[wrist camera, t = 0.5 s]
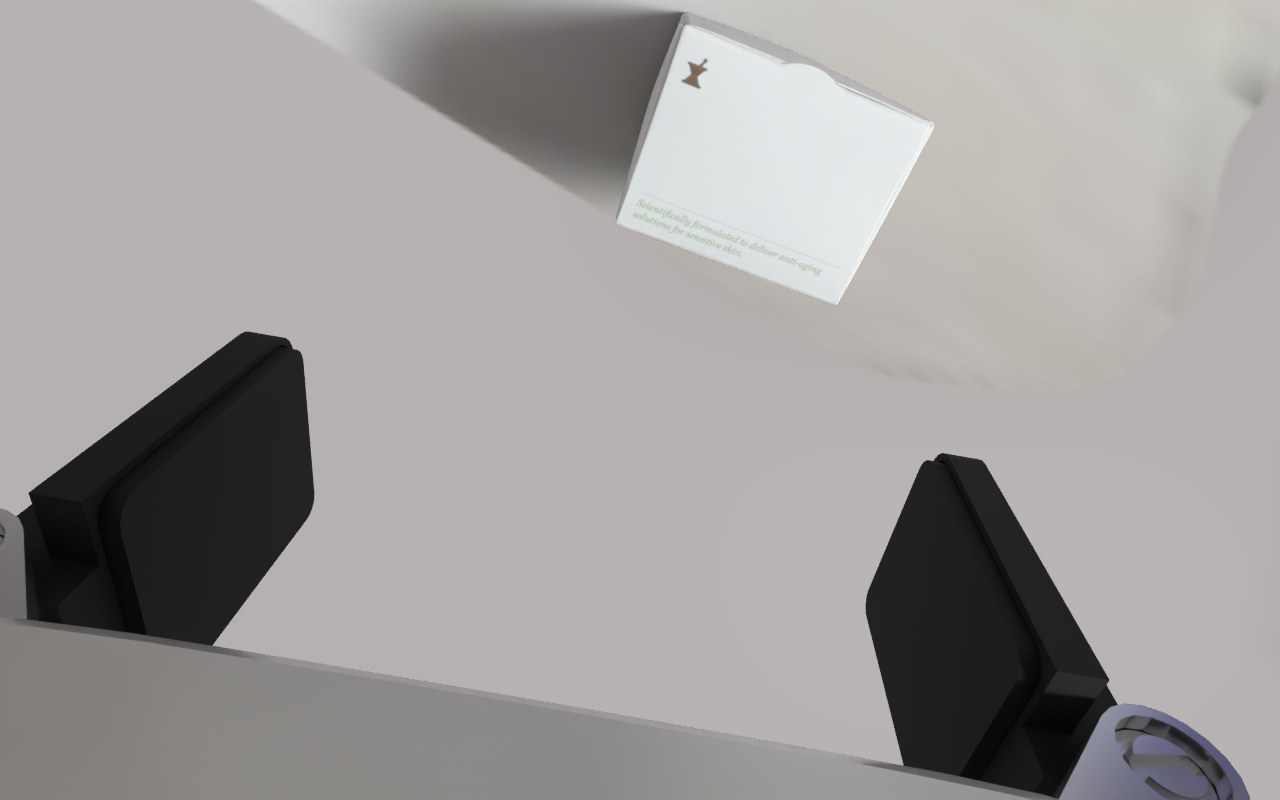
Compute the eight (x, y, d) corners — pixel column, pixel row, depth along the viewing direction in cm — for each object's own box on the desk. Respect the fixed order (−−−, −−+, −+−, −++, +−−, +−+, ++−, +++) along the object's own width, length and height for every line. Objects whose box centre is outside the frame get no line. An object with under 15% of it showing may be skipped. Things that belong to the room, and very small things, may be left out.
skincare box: (637, 139, 37) (596, 227, 24) (686, -2, 34) (671, 6, 20) (789, 200, 38) (835, 319, 24) (852, 68, 35) (944, 121, 21)
